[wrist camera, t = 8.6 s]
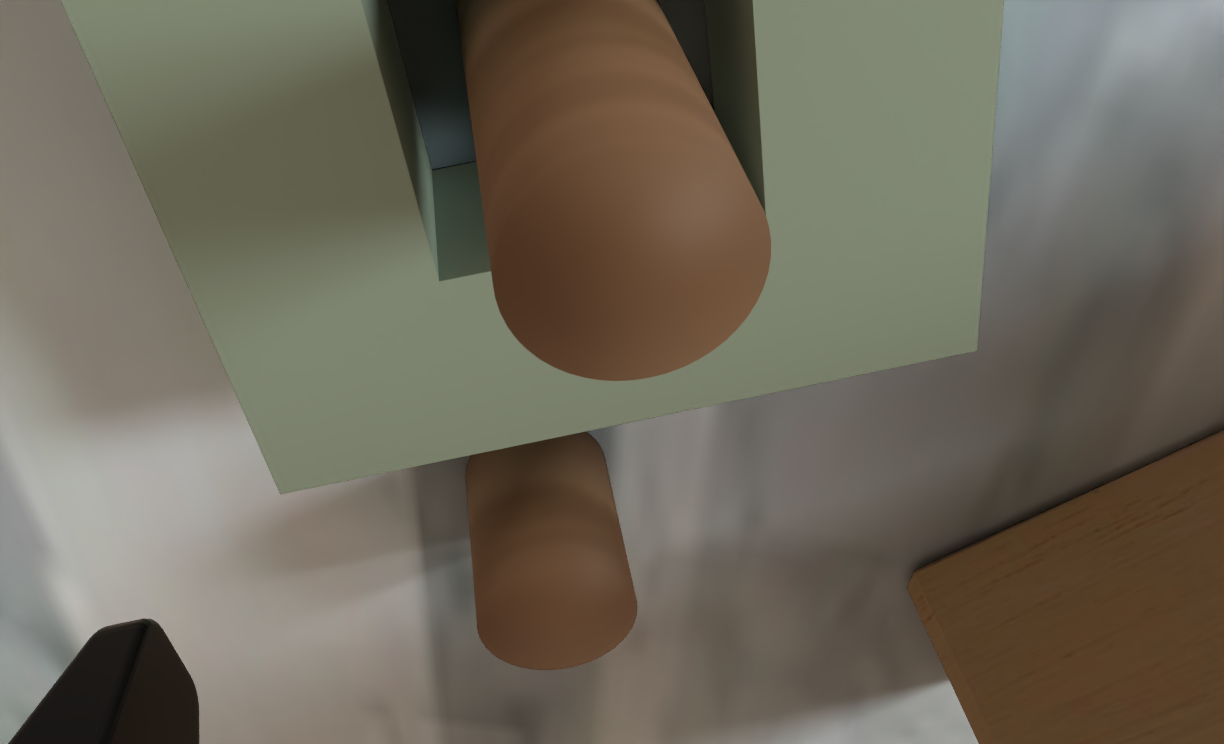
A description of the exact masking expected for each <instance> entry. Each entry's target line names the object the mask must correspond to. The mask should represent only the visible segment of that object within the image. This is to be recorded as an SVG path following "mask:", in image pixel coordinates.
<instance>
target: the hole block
mask: <svg viewBox="0 0 1224 744" xmlns="http://www.w3.org/2000/svg"><path fill="white" fill-rule="evenodd" d="M61 2H62V5H63V7H64V9H65V11H66V14H67V16H68V18H69V20H70V23H71V25H72V27H73V29H74V32H75V34H76V36H77V38H78V41H79V43H80V45H81V47H82V50H83V52H84V54H85V56H86V58H87V61H88V63H89V65H90V67H91V70H92V72H93V74H94V76H95V79H96V81H97V83H98V85H99V88H100V90H101V92H102V94H103V97H104V99H105V101H106V103H107V106H108V108H109V110H110V112H111V115H112V117H113V119H114V121H115V124H116V126H117V128H118V130H119V133H120V135H121V137H122V139H123V142H124V144H125V146H126V148H127V151H128V153H129V155H130V157H131V160H132V162H133V164H134V166H135V169H136V171H137V173H138V175H139V178H140V180H141V182H142V184H143V187H144V189H145V191H146V193H147V196H148V198H149V200H150V202H151V205H152V207H153V209H154V211H155V214H156V216H157V218H158V220H159V223H160V225H161V227H162V229H163V232H164V234H165V236H166V238H167V241H168V243H169V245H170V247H171V250H172V252H173V254H174V256H175V259H176V261H177V263H178V265H179V268H180V270H181V272H182V274H183V277H184V279H185V281H186V283H187V286H188V288H189V290H190V292H191V295H192V297H193V299H194V301H195V304H196V306H197V308H198V310H199V313H200V315H201V317H202V319H203V322H204V324H205V326H206V328H207V331H208V333H209V335H210V337H211V340H212V342H213V344H214V346H215V348H216V351H217V353H218V355H219V357H220V360H221V362H222V364H223V366H224V369H225V371H226V373H227V375H228V378H229V380H230V382H231V384H232V387H233V389H234V391H235V393H236V396H237V398H238V400H239V402H240V405H241V407H242V409H243V411H244V414H245V416H246V418H247V420H248V423H249V425H250V427H251V429H252V432H253V434H254V436H255V438H256V441H257V443H258V445H259V447H260V450H261V452H262V454H263V456H264V459H265V461H266V463H267V465H268V468H269V470H270V472H271V474H272V477H273V479H274V481H275V483H276V486H277V488H278V490H279V492H280V494H284V493H289V492H294V491H299V490H304V489H309V488H314V487H318V486H323V485H328V484H333V483H338V482H343V481H348V480H352V479H357V478H362V477H367V476H372V475H377V474H382V473H386V472H391V471H396V470H401V469H406V468H411V467H416V466H420V465H425V464H430V463H435V462H440V461H445V460H450V459H454V458H459V457H464V456H469V455H474V454H479V453H484V452H488V451H493V450H498V449H503V448H508V447H513V446H518V445H522V444H527V443H532V442H537V441H542V440H547V439H552V438H556V437H561V436H566V435H571V434H576V433H581V432H586V431H590V430H595V429H600V428H605V427H610V426H615V425H620V424H624V423H629V422H634V421H639V420H644V419H649V418H653V417H658V416H663V415H668V414H673V413H678V412H683V411H687V410H692V409H697V408H702V407H707V406H712V405H717V404H721V403H726V402H731V401H736V400H741V399H746V398H751V397H755V396H760V395H765V394H770V393H775V392H780V391H785V390H789V389H794V388H799V387H804V386H809V385H814V384H819V383H823V382H828V381H833V380H838V379H843V378H848V377H853V376H857V375H862V374H867V373H872V372H877V371H882V370H887V369H891V368H896V367H901V366H906V365H911V364H916V363H921V362H925V361H930V360H935V359H940V358H945V357H950V356H955V355H959V354H964V353H969V352H974V351H977V344H978V332H979V319H980V306H981V293H982V280H983V267H984V254H985V241H986V229H987V216H988V203H989V190H990V177H991V164H992V151H993V138H994V125H995V113H996V100H997V87H998V74H999V61H1000V48H1001V35H1002V22H1003V9H1004V0H705V9H706V21H707V32H708V43H709V55H710V66H711V77H712V89H713V100H714V111H715V115H716V117H717V119H718V121H719V123H720V125H721V127H722V128H723V130H724V132H725V134H726V136H727V138H728V140H729V142H730V144H731V146H732V148H733V150H734V152H735V154H736V156H737V158H738V160H739V162H740V164H741V166H742V168H743V170H744V172H745V174H746V176H747V178H748V180H749V182H750V183H751V185H752V187H753V189H754V191H755V193H756V195H757V197H758V199H759V201H760V203H761V205H762V207H763V210H764V212H765V215H766V218H767V221H768V225H769V230H770V237H771V260H770V266H769V272H768V275H767V279H766V282H765V285H764V288H763V290H762V292H761V294H760V297H759V299H758V301H757V303H756V304H755V306H754V308H753V309H752V311H751V312H750V314H749V315H748V317H747V318H746V319H745V320H744V322H743V323H742V324H741V325H740V327H739V328H738V329H737V330H736V331H735V332H734V333H733V334H732V335H731V336H730V337H729V338H728V339H727V340H726V341H724V342H723V343H722V344H721V345H719V346H718V347H717V348H716V349H714V350H713V351H711V352H710V353H708V354H707V355H705V356H703V357H702V358H700V359H699V360H697V361H695V362H693V363H691V364H689V365H687V366H685V367H682V368H680V369H677V370H674V371H672V372H669V373H666V374H662V375H658V376H655V377H651V378H645V379H638V380H629V381H605V380H595V379H589V378H584V377H580V376H576V375H573V374H569V373H566V372H564V371H562V370H559V369H557V368H555V367H552V366H551V365H549V364H547V363H545V362H544V361H542V360H540V359H539V358H537V357H536V356H535V355H533V354H532V353H531V352H529V351H528V350H527V349H526V348H525V347H524V346H523V345H522V344H521V343H520V342H519V341H518V340H517V339H516V338H515V336H514V335H513V334H512V332H511V331H510V330H509V328H508V327H507V325H506V323H505V321H504V319H503V317H502V315H501V314H500V311H499V308H498V305H497V302H496V299H495V294H494V288H493V282H492V275H491V267H490V259H489V252H488V244H487V237H486V229H485V222H484V214H483V207H482V199H481V192H480V184H479V177H478V169H477V162H472V163H467V164H462V165H457V166H452V167H447V168H442V169H436V170H432V169H431V166H430V162H429V158H428V154H427V150H426V147H425V143H424V139H423V135H422V132H421V128H420V124H419V120H418V116H417V113H416V109H415V105H414V101H413V97H412V94H411V90H410V86H409V82H408V79H407V75H406V71H405V67H404V63H403V60H402V56H401V52H400V48H399V44H398V41H397V37H396V33H395V29H394V26H393V22H392V18H391V14H390V10H389V7H388V3H387V0H61Z"/></svg>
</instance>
